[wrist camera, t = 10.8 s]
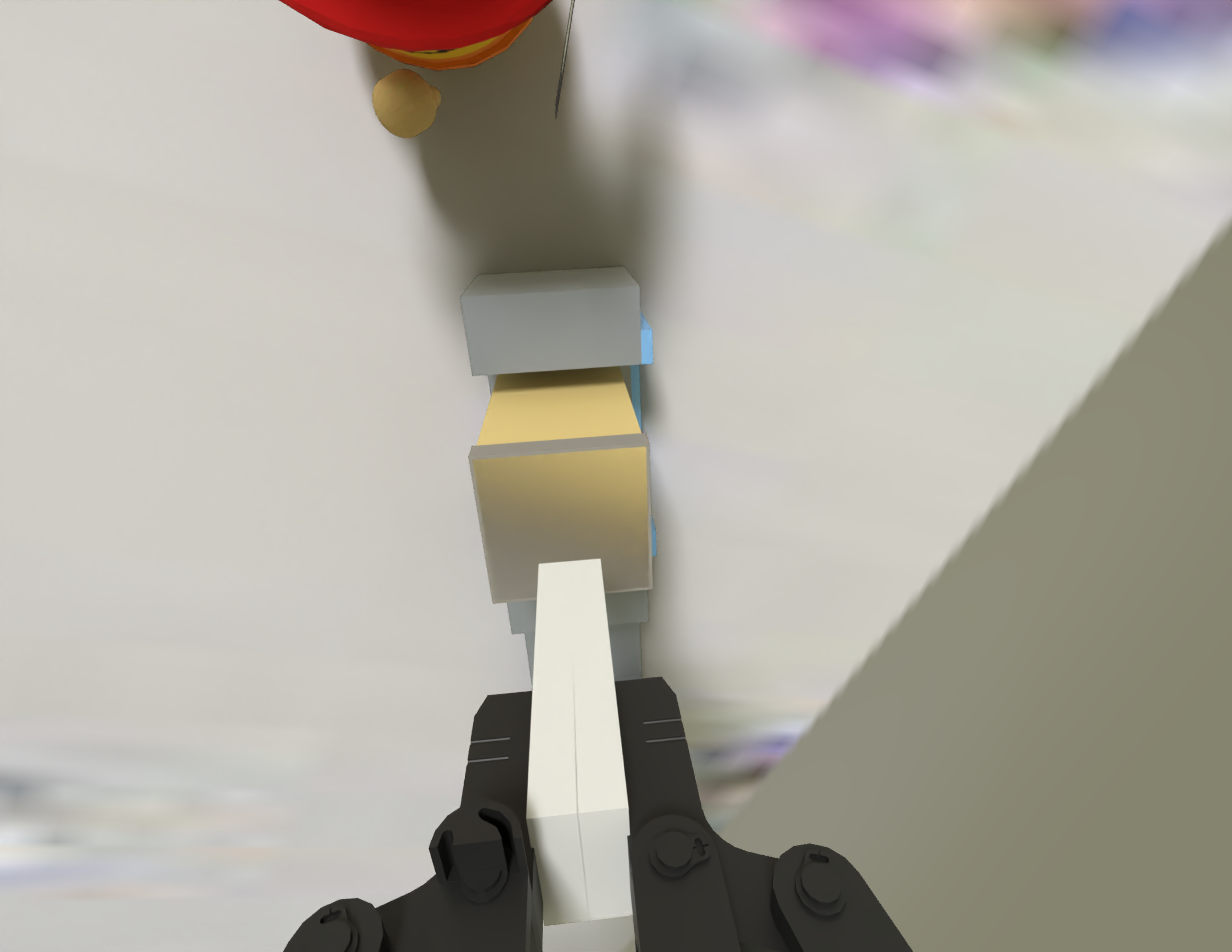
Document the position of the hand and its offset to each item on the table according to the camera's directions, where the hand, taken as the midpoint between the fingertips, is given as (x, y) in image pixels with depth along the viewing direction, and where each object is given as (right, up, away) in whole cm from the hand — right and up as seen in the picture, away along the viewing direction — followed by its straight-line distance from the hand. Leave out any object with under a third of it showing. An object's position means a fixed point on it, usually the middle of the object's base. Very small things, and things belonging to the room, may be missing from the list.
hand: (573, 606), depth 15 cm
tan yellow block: (-1, +6, +11) cm, 13 cm away
